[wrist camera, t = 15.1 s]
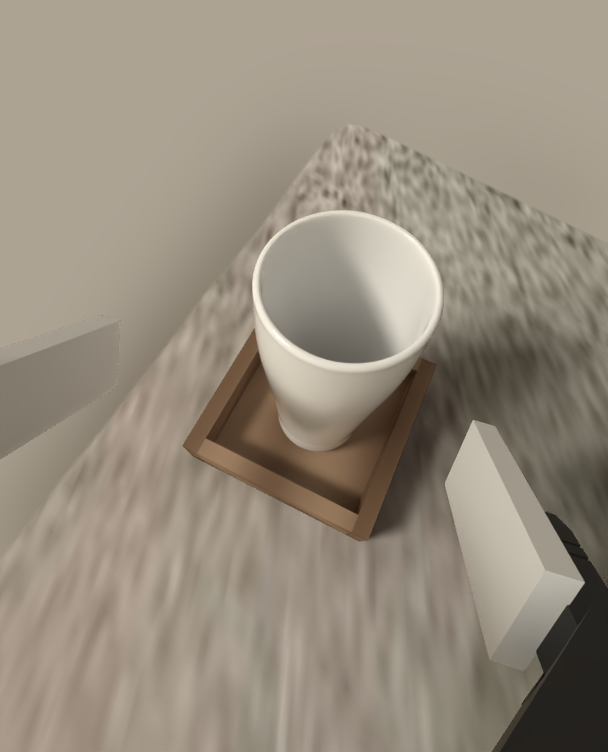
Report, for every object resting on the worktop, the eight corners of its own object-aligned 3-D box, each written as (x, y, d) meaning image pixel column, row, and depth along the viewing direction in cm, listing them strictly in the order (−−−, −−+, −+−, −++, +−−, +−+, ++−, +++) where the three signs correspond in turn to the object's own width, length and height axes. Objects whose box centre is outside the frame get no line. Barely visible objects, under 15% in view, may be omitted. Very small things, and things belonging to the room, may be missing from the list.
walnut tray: (422, 381, 30) (436, 364, 27) (359, 541, 25) (368, 540, 23) (276, 316, 31) (275, 294, 29) (192, 456, 27) (182, 445, 24)
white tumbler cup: (308, 351, 30) (328, 178, 16) (386, 407, 28) (483, 271, 14) (246, 422, 27) (206, 293, 14) (327, 486, 26) (375, 416, 12)
